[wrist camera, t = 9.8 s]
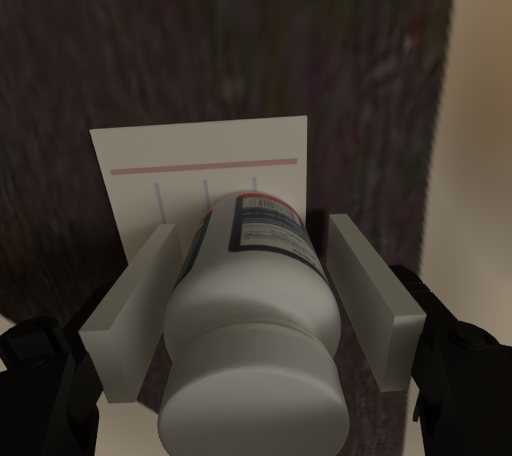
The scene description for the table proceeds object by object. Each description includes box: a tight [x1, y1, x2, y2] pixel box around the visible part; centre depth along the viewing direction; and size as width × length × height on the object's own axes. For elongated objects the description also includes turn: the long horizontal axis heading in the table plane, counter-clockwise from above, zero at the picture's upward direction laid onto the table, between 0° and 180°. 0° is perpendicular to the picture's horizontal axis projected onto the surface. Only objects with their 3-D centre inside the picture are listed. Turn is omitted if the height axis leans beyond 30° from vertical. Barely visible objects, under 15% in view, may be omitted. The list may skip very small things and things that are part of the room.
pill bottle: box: [158, 191, 349, 456], centre depth 10 cm, size 5×5×9 cm
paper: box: [90, 115, 307, 265], centre depth 14 cm, size 11×9×1 cm
